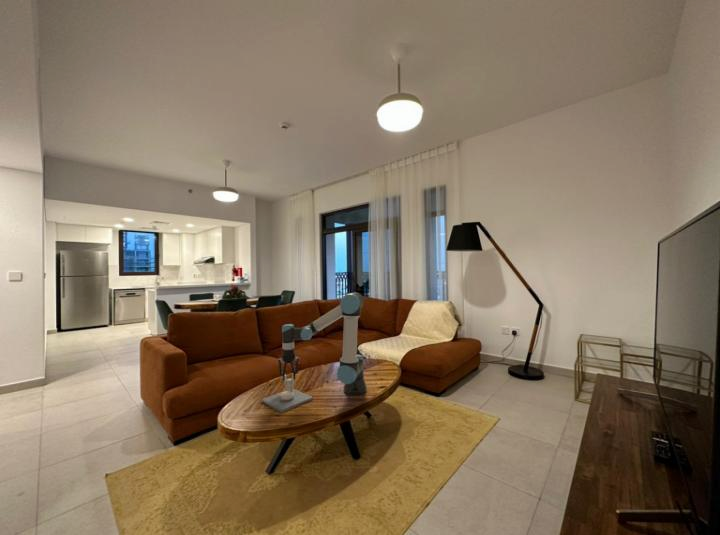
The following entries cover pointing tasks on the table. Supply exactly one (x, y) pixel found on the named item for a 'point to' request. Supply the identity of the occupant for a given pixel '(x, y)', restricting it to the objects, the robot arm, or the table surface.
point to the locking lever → (287, 391)
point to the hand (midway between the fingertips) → (289, 384)
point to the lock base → (282, 405)
